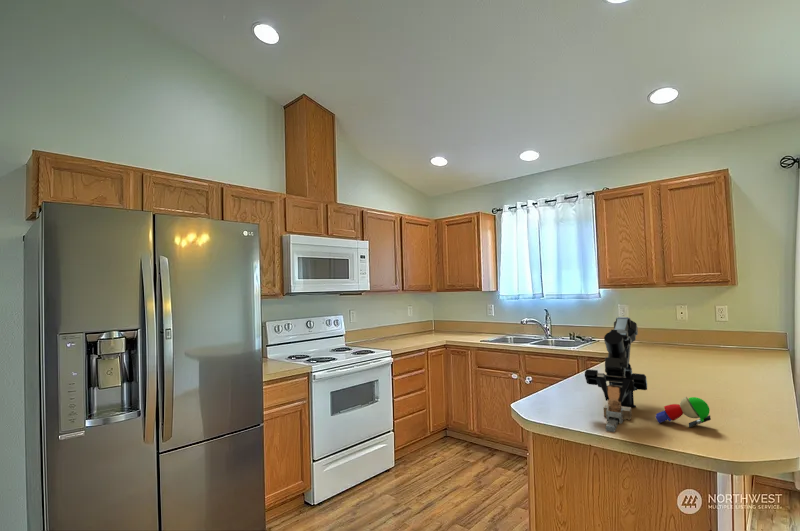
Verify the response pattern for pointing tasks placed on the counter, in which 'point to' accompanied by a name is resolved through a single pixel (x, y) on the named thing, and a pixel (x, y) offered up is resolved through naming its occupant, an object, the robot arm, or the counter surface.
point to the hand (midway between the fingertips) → (613, 400)
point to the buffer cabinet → (626, 412)
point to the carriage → (614, 403)
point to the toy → (686, 411)
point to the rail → (612, 424)
